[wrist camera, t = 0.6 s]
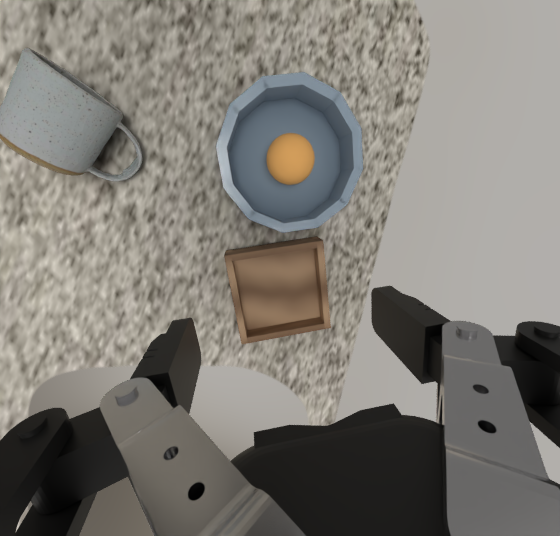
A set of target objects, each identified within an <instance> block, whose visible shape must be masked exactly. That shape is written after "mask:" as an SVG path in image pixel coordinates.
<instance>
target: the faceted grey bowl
mask: <svg viewBox="0 0 560 536" xmlns="http://www.w3.org/2000/svg"><path fill="white" fill-rule="evenodd" d="M286 133H296V134H299V135H301V136H303V137H304V138H306V139H307V140H308V141H309V143H310V144H311V146H312V148H313V151H314V156H315V161H314V166H313V169H312V171H311V173H310V175H309V176H308V177H307V178H306V179H305V180H304V181H302V182H300V183H298V184H294V185H286V184H283V183H280V182H278V181H277V180H276V179H274V178H273V176H272V175H271V174H270V172H269V170H268V167H267V161H266V158H267V152H268V149H269V146H270V145H271V143H272V142H273V141H274V140H275V139H276V138H277V137H279V136H280V135H283V134H286ZM216 149H217V155H218V160H219V166H220V171H221V176H222V182H223V187H224V189H225V190H226V192H227V193H228V194H229V195H230V197H231V198H232V199H233V200H234V202H235V203H236V204H237V205H238V207H239V208H240V209H241V210H242V212H243V213H244V214H245V215H246V217H247V218H248V219H249V220H252V221H254V222H257V223H259V224H262V225H264V226H267V227H270V228H272V229H275V230H277V231H280V232H282V233H285V232H291V231H298V230H304V229H311V228H317V227H319V226H320V225H322V224H323V223H324V222H326V221H327V220H328V219H329V218H331V217H332V216H333V215H335V214H336V213H337V212H338V211H340V210H341V209H342V208H343V207H345V206H346V205H347V203H348V201H349V199H350V197H351V195H352V192H353V190H354V188H355V186H356V184H357V181H358V179H359V177H360V175H361V173H362V170H363V158H362V132H361V127H360V125H359V123H358V122H357V120H356V118H355V117H354V115H353V113H352V111H351V110H350V108H349V106H348V104H347V103H346V101H345V99H344V97H343V96H342V94H341V92H339V91H337V90H336V89H334V88H332V87H330V86H328V85H327V84H325V83H323V82H321V81H319V80H317V79H316V78H314V77H312V76H310V75H308V74H307V73H305V72H300V73H291V74H281V75H271V76H262V77H261V78H260V79H259V80H258V81H257V82H255V83H254V84H253V85H252V86H251V87H249V88H248V89H247V90H246V91H245V92H244V93H242V94H241V95H240V96H239V97H238V98H236V99H235V100H234V101H233V102H232V103H231V104H230V105H229V108H228V111H227V114H226V117H225V120H224V123H223V126H222V129H221V132H220V135H219V138H218V141H217V144H216Z"/></svg>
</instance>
